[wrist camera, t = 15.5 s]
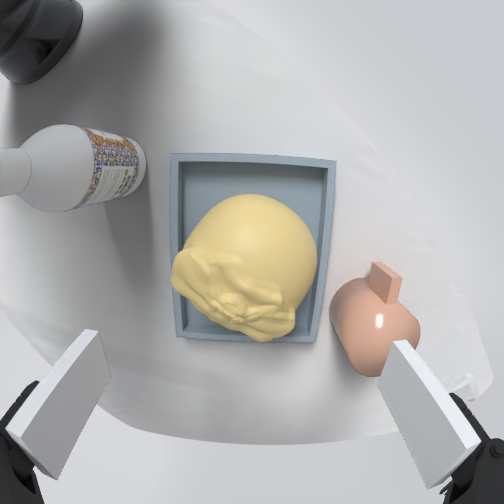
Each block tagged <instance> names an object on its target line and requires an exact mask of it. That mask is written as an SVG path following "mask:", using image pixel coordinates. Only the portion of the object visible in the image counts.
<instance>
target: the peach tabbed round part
mask: <svg viewBox="0 0 504 504" xmlns="http://www.w3.org/2000/svg"><path fill="white" fill-rule="evenodd" d="M401 281H402V277H401V276H399V275H398V274H397V273H395V272H394V271H393V270H391V269H390V268H389V267H387V266H386V265H385V264H383V263H382V262H372V265H371V271H370V277H369V278H358V279H354V280H352V281H349V282H348V283H346V284H345V285H343V286H342V287H341V288H340V289H339V290H338V291H337V292H336V294H335V295H334V297H333V299H332V301H331V303H330V307H329V317H330V321H331V323H332V325H333V327H334V329H335V331H336V333H337V335H338V337H339V339H340V341H341V343H342V345H343V347H344V349H345V351H346V353H347V355H348V357H349V359H350V361H351V363H352V365H353V367H354V369H355V370H356V371H357V372H358V373H360V374H361V375H364V376H368V377H378V376H381V373H382V371H383V368H384V365H385V363H386V360H387V357H388V354H389V351H390V348H391V345H392V342H393V341H399V340H407V341H408V343H409V344H410V345H411V346H412V347H413V349H414V350H415V349H416V347H417V345H418V342H419V339H420V325H419V322H418V320H417V319H416V318H415V317H414V316H413V315H412V314H411V313H410V312H409V311H408V310H407V309H406V308H405V307H404V306H403V305H402V304H401V303H400V302H399V301H398V300H397V299H398V295H399V290H400V286H401Z"/></svg>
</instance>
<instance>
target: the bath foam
mask: <svg viewBox="0 0 504 504" xmlns="http://www.w3.org/2000/svg"><path fill="white" fill-rule="evenodd" d="M145 171H146V158H145V154H144V152H143V150H142V148H141V147H140V145H139V144H138V143H137V142H135V141H134V140H132V139H130V138H127V137H123V136H120V135H116V134H112V133H108V132H103V131H99V130H95V129H90V128H86V127H81V126H76V125H71V124H60V125H53V126H49V127H46V128H44V129H42V130H40V131H38V132H37V133H35V134H34V135H32V136H31V137H30V138H29V139H27V140H26V141H25V142H24V143H23V144H22V145H21V146H20V147H19V148H0V197H2V196H7V195H12V194H17V195H18V196H19V197H20V198H21V199H23V200H24V201H25V202H26V203H27V204H29V205H30V206H32V207H34V208H36V209H38V210H41V211H45V212H63V211H69V210H72V209H76V208H80V207H84V206H88V205H92V204H96V203H100V202H104V201H108V200H112V199H116V198H120V197H124V196H127V195H129V194H131V193H132V192H133V191H135V190H136V189H137V188H138V186H139V185H140V184H141V182H142V180H143V178H144V175H145Z"/></svg>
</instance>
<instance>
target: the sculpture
mask: <svg viewBox="0 0 504 504" xmlns="http://www.w3.org/2000/svg"><path fill="white" fill-rule="evenodd" d="M316 267H317V250H316V245H315V242H314V239H313V236H312V234H311V232H310V230H309V229H308V227H307V226H306V224H305V223H304V221H303V220H302V219H301V218H300V217H299V216H298V215H297V214H296V213H295V212H294V211H293V210H291V209H290V208H289V207H287V206H286V205H284V204H283V203H281V202H279V201H277V200H275V199H272V198H270V197H267V196H263V195H258V194H241V195H236V196H233V197H230V198H228V199H225V200H223V201H222V202H220V203H218V204H217V205H216V206H214V207H213V208H212V209H211V210H210V211H208V212H207V213H206V215H205V216H204V217H203V218H202V219H201V221H200V222H199V223H198V225H197V226H196V227H195V229H194V230H193V231H192V233H191V234H190V236H189V237H188V239H187V241H186V243H185V245H184V247H183V250H182V251H180V252H179V253H178V254H177V255H176V257H175V259H174V262H173V267H172V275H171V277H170V282H171V285H172V286H173V288H174V289H175V290H176V291H177V292H178V293H179V294H181V295H182V296H184V297H186V298H187V299H189V300H190V301H191V302H192V304H193V306H194V307H195V308H196V309H197V310H198V311H199V312H201V313H203V314H204V315H206V316H208V318H209V319H210V320H211V321H213V322H216V323H219V324H221V325H222V326H224V327H225V328H227V329H229V330H233V331H240V332H242V333H244V334H246V335H247V336H249V337H250V338H252V339H254V340H256V341H258V342H267V341H270V340H272V339H273V338H278V337H282V336H284V335H286V334H288V333H289V332H291V331H292V330H293V328H294V326H295V310H296V309H297V308H298V306H299V305H300V303H301V302H302V300H303V298H304V297H305V295H306V294H307V292H308V290H309V288H310V286H311V284H312V282H313V279H314V276H315V272H316Z"/></svg>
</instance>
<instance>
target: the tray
mask: <svg viewBox="0 0 504 504" xmlns="http://www.w3.org/2000/svg"><path fill="white" fill-rule="evenodd" d="M335 178H336V161H333V160H324V159H315V158H304V157H292V156H279V155H262V154H236V153H175V154H171V165H170V244H171V269H172V267H173V262H174V259H175V257H176V255H177V254H178V253H179V252H180V251H182V250H183V247H184V245H185V243H186V241H187V239H188V237H189V236H190V234H191V233H192V231H193V230H194V229H195V227H196V226H197V225H198V223H199V222H200V221H201V219H202V218H203V217H204V216H205V215H206V213H207V212H208V211H210V210H211V209H212V208H213V207H214V206H216V205H217V204H218V203H220V202H222V201H223V200H225V199H228V198H230V197H233V196H236V195H241V194H258V195H263V196H267V197H270V198H272V199H275V200H277V201H279V202H281V203H283V204H284V205H286V206H287V207H289V208H290V209H291V210H293V211H294V212H295V213H296V214H297V215H298V216H299V217H300V218H301V219H302V220H303V221H304V223H305V224H306V226H307V227H308V229H309V230H310V232H311V234H312V236H313V239H314V242H315V245H316V250H317V267H316V272H315V276H314V279H313V282H312V284H311V286H310V288H309V290H308V292H307V294H306V295H305V297H304V298H303V300H302V302H301V303H300V305H299V306H298V308H297V309H296V310H295V326H294V328H293V330H292V331H291V332H289V333H288V334H286V335H284V336H282V337H278V338H273V339H272V340H270V341H267V342H315V341H316V335H317V330H318V324H319V318H320V312H321V306H322V299H323V292H324V285H325V278H326V271H327V263H328V255H329V246H330V237H331V227H332V217H333V205H334V192H335ZM172 287H173V286H172ZM173 302H174V314H175V326H176V336H177V337H183V338H194V339H208V340H224V341H245V342H258V341H256V340H254V339H252V338H250V337H249V336H247V335H246V334H244V333H242V332H240V331H233V330H229V329H227V328H225V327H224V326H222V325H221V324H219V323H216V322H213V321H211V320H210V319H209V318H208V316H206V315H204V314H203V313H201V312H199V311H198V310H197V309H196V308H195V307H194V306H193V304H192V302H191V301H190V300H189V299H187V298H186V297H184V296H182V295H181V294H179V293H178V292H177V291H176V290H175V289H174V288H173Z"/></svg>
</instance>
